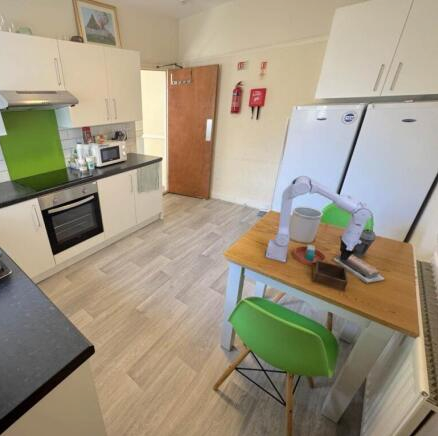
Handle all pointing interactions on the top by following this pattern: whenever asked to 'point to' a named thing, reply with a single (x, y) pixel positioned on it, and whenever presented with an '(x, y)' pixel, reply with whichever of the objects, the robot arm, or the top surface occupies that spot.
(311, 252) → the teal packet
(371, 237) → the beverage cup
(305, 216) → the utensil holder
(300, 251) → the bowl
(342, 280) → the box
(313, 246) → the silver packet
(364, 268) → the packaged product
